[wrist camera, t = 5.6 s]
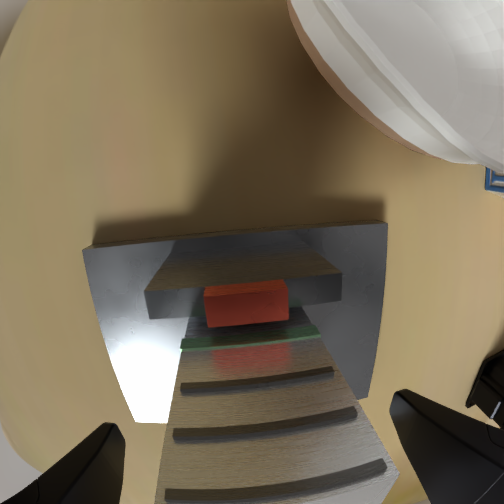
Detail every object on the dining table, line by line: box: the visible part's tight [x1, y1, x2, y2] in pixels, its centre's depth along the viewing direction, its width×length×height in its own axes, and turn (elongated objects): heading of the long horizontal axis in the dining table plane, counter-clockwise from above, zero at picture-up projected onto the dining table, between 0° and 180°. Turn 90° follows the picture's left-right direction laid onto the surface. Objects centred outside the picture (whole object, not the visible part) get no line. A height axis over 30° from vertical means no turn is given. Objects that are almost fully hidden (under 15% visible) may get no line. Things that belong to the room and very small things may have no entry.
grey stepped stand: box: [82, 220, 388, 423], centre depth 13 cm, size 16×12×7 cm
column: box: [154, 306, 399, 504], centre depth 8 cm, size 4×5×8 cm
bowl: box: [286, 0, 504, 174], centre depth 9 cm, size 16×16×8 cm
